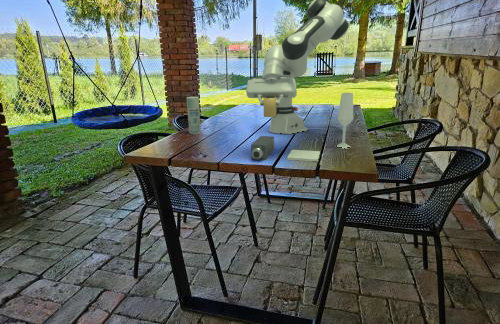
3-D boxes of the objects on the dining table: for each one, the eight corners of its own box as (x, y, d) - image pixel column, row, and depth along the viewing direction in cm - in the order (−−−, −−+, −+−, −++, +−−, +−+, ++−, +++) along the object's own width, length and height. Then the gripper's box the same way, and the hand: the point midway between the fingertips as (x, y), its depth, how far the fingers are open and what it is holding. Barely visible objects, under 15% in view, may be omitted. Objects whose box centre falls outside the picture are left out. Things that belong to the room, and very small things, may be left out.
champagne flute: (350, 148, 137) (355, 94, 130) (335, 147, 139) (338, 93, 132) (350, 145, 143) (355, 92, 136) (335, 144, 145) (339, 92, 138)
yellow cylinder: (268, 114, 126) (268, 95, 123) (278, 115, 123) (278, 95, 120) (261, 116, 122) (260, 95, 120) (271, 117, 119) (271, 96, 117)
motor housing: (262, 147, 142) (262, 134, 140) (275, 147, 141) (275, 135, 139) (249, 161, 122) (249, 146, 120) (263, 162, 120) (263, 147, 119)
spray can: (189, 134, 171) (186, 98, 165) (188, 132, 177) (186, 96, 171) (201, 133, 172) (198, 97, 166) (200, 131, 178) (198, 96, 172)
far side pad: (291, 151, 134) (291, 149, 133) (320, 153, 131) (320, 151, 130) (287, 159, 123) (287, 157, 123) (317, 161, 120) (318, 159, 119)
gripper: (247, 73, 126) (242, 99, 120) (297, 72, 122) (295, 99, 116) (249, 83, 132) (245, 109, 125) (297, 83, 128) (295, 109, 121)
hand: (269, 104), depth 120 cm, fingers closed on yellow cylinder, 5 cm apart
